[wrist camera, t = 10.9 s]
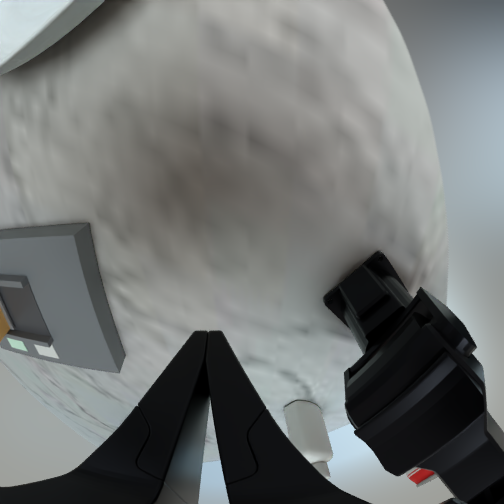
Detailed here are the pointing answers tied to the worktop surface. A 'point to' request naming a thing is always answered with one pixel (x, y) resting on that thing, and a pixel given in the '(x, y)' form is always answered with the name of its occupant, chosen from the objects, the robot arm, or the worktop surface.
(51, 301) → the switch housing
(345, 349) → the worktop surface
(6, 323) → the switch tab
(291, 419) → the eye dropper bottle
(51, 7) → the serving bowl
